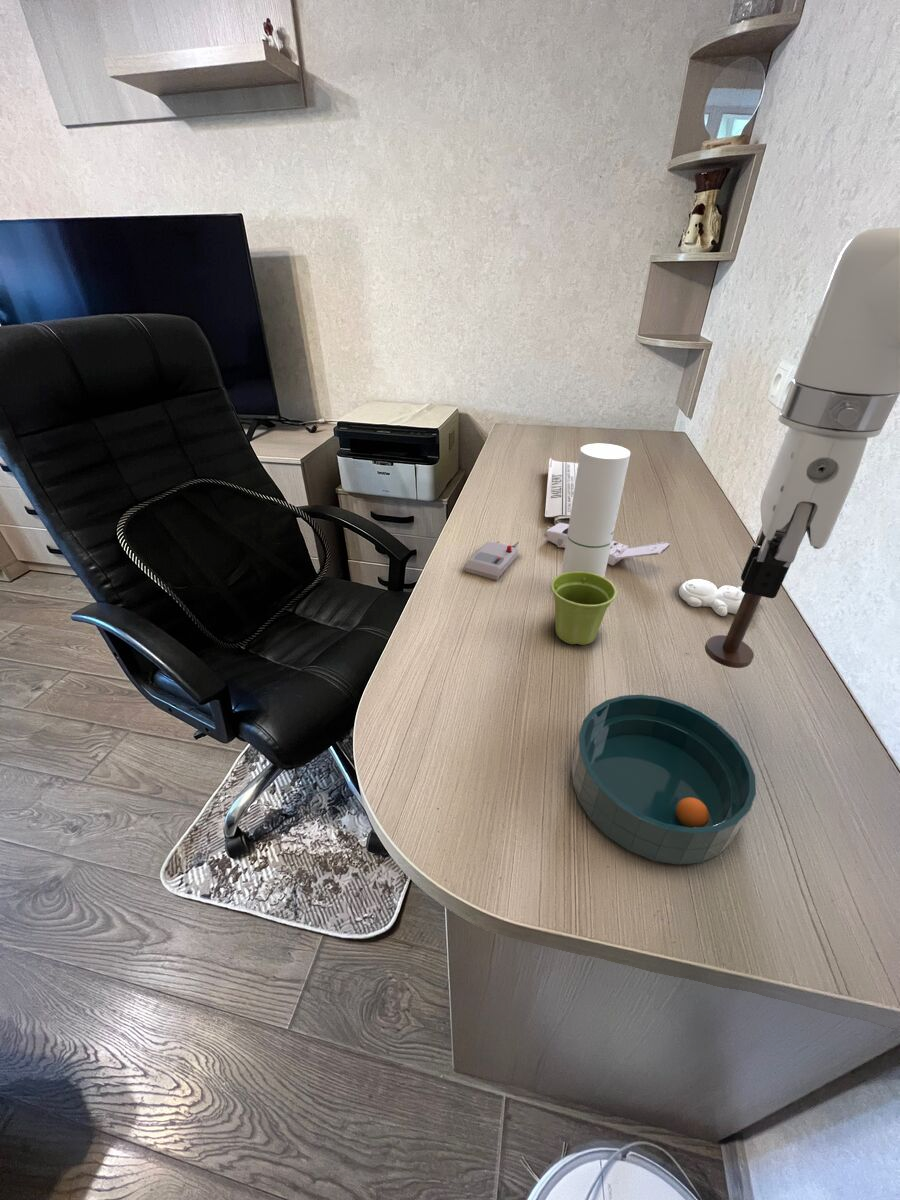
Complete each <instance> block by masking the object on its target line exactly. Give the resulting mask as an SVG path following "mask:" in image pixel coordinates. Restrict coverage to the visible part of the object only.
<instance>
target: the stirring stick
mask: <svg viewBox="0 0 900 1200" xmlns="http://www.w3.org/2000/svg"><path fill="white" fill-rule="evenodd" d="M773 544H775V545H780V544H781V543H777V542H772V545H773ZM772 545H771V546H772ZM761 600H762V596H758V595H753V594H749V593H745V594H744V596H743V598H742V601H741V603H740V606H739V608H738V610H737V613H736V614H734V615H735V616H734V618H733V620H732V623H731V624H730V627H729V630H728V631H727V635H724V634H717V635H716V634H715V635H712V636H710V637H709V638H708V639H707V640H706V642H705V645H704V651H705V653H706V655H707V656H708V657H709V658H710V659H711V660H713V661H714V662H716V663H717V664H720V665H722V666H723V667H728V668H732V669H743V668H746V667H749V666H750V665H751V664H752V661H753V660H754V658H755V657H754V656H755V654H754V651H753V649H752V648H751V646H749V645H748V644H747V643H746V642H744V641H743V640H744V638H745V635H746V633H747V631H748V630H749V629H748V628H749V627H750V624H751V623H752V620H753V617H754V615H755V613H756V611H757V608H758V606H759V604H760V602H761Z"/></svg>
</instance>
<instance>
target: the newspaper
mask: <svg viewBox="0 0 900 1200" xmlns="http://www.w3.org/2000/svg"><path fill="white" fill-rule="evenodd" d="M548 461H549V462H548V472H547V482H546V483H547V484H546V496H545V497H546V498H545V511H544V517H545V518H553V521H554V525H556V524H558V523H565V524H569V521H570V514H571V508H572V501H573V495H574V488H575V482H576V476H577V469H578V463H579V462H573V461H572V462H571V461H570V462H569V461H558V460H554V459H552V458H551V457H549V460H548Z"/></svg>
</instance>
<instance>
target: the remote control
mask: <svg viewBox="0 0 900 1200" xmlns="http://www.w3.org/2000/svg"><path fill="white" fill-rule="evenodd" d="M519 543H520V541H516V543H514V544H513V545H508V544H503V543H500V541H499V540H498V541H497V542H495V541H486V542H485V543H484V544H483V545H482V546H481V547H480V548H479V549H478V550H476V552H475V553H474V554H473V555H472V556H471V557H470V558H469V559H468V560H467V562H466V564H465V566H464V572H466V573H469V574H472V575H476V576H480V577H484V578H487V579H491V580H495V581H497V580H499V578H500V577H501V576H502V575H503V573H504V572H505V571H506V570H507V569H508V567H510V565H511V564H512V563H513V562H514V560H515V559H516V558H517V557H518V549H517V548H516V547H518V544H519Z"/></svg>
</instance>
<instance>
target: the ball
mask: <svg viewBox="0 0 900 1200" xmlns="http://www.w3.org/2000/svg"><path fill="white" fill-rule="evenodd" d="M676 814H677V817H678V819H679V821H680V822H681V823H682V824H683V825H684V826H685V827H690V828H694V827H704V826H705V825H706V824H707V822H708V820H709V812H708V810H707V808H706V806H705V805H704V804H703V803H702V802H701V801H700V800H698V799H696V798H691V797H688V798H684V799H682V800H681V801H680V802H679V803H678V805H677V808H676Z"/></svg>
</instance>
